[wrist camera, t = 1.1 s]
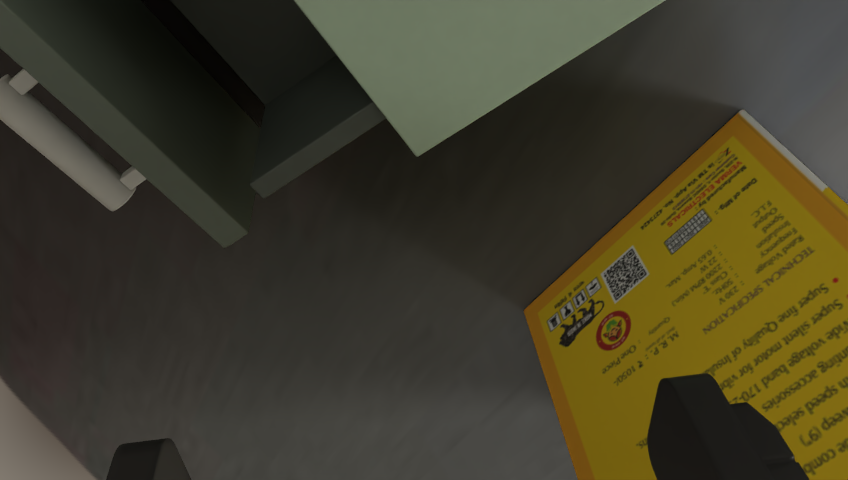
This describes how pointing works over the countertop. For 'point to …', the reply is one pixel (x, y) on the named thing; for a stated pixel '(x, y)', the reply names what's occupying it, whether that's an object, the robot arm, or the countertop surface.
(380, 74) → the green storage cabinet
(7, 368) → the countertop surface
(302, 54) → the drawer
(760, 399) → the packaging box
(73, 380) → the countertop surface
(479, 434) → the countertop surface
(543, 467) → the countertop surface
